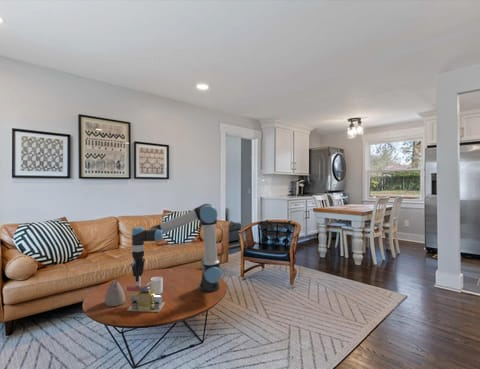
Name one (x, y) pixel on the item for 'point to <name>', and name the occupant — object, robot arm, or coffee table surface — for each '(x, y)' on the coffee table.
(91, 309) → the coffee table surface
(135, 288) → the lever
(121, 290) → the sculpture
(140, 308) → the valve body
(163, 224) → the robot arm
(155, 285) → the mug
